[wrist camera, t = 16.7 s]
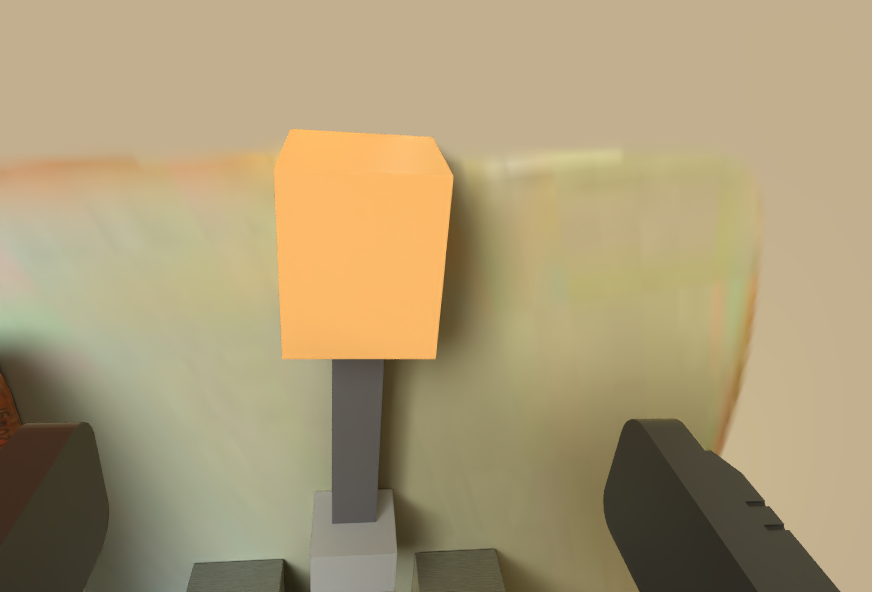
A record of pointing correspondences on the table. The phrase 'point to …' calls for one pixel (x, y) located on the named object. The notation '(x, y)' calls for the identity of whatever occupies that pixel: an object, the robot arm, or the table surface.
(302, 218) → the plug
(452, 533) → the table surface
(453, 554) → the housing
